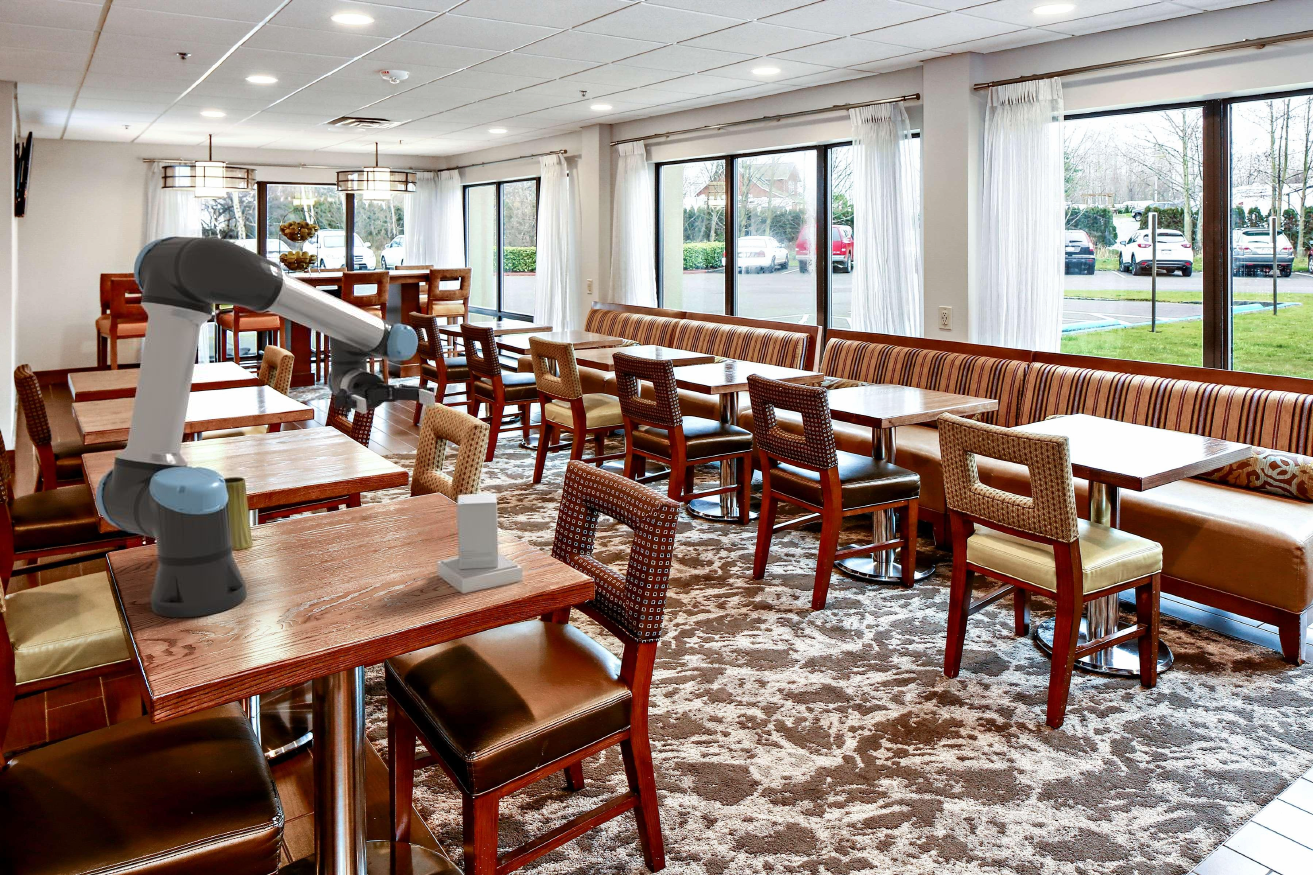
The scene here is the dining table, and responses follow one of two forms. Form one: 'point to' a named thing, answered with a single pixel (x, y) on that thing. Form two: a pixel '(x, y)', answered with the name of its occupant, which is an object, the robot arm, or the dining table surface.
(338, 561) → the dining table surface
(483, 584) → the pedestal
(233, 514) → the vase
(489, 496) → the supplement box
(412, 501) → the dining table surface
